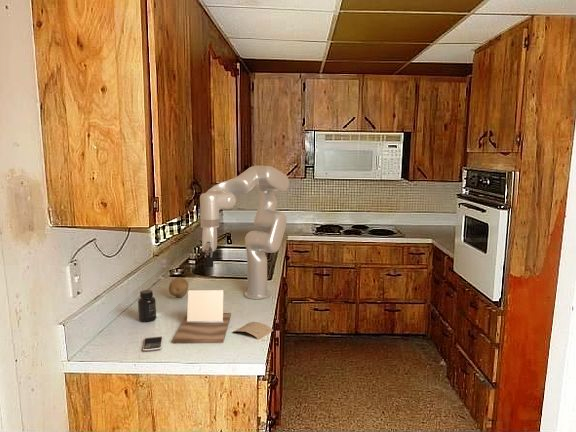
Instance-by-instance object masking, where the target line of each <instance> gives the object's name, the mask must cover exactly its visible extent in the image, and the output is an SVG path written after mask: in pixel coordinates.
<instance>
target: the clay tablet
mask: <svg viewBox="0 0 576 432" xmlns="http://www.w3.org/2000/svg"><path fill="white" fill-rule="evenodd" d="M273 331H274V329H273V328H272V327H271V326H269V325H268V324H265V323H261V322H259V321H251V322H247V323H246V324H245V325H243V326H241V327H239V328H237V329H235V330H233V333H235V332H243V333H244V332H246V333H248V334H250V335H252V336H253V337H255V338H256V339H257V340H261V339H263V338H264V337H266V336H267V335H269V334H270V333H272V332H273Z"/></svg>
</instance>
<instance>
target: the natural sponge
mask: <svg viewBox="0 0 576 432" xmlns="http://www.w3.org/2000/svg"><path fill="white" fill-rule="evenodd" d="M188 290H189V283H188V281H187V280H186V279H185V278H183V277H176V278H174V279H173V280H171V282H170V283H169V286H168V292H169V294H170V295H171V296H174V297H175V298H177V299H182V298H184V297H185V295H186V294H188Z"/></svg>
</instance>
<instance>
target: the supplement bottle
mask: <svg viewBox="0 0 576 432" xmlns="http://www.w3.org/2000/svg"><path fill="white" fill-rule="evenodd" d="M153 295H154V294H153V290H152V289H145V290H141V291H140V292H139V297H140V298H138V300H137V308H138V311H137V313H138V321H139V322H140V323H150V322H151V323H152V322H154V321H155V320H156V319H157V308H156V307H157V306H156V305H157V302H156V297H154V296H153Z"/></svg>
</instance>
